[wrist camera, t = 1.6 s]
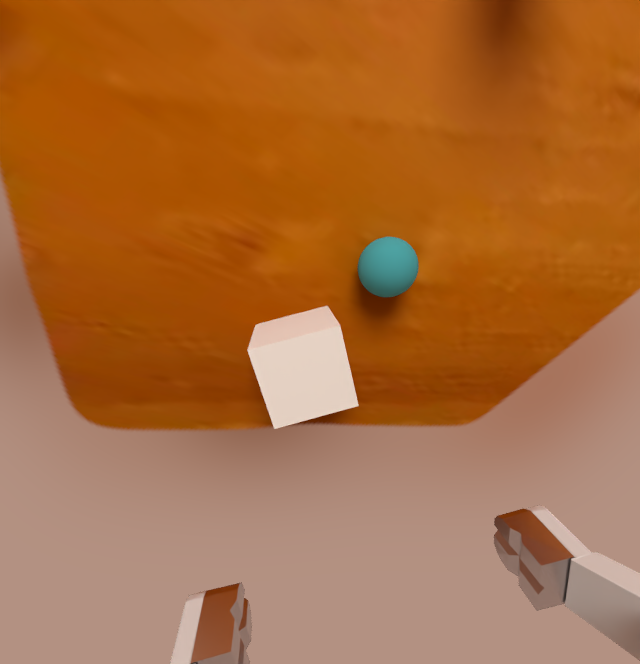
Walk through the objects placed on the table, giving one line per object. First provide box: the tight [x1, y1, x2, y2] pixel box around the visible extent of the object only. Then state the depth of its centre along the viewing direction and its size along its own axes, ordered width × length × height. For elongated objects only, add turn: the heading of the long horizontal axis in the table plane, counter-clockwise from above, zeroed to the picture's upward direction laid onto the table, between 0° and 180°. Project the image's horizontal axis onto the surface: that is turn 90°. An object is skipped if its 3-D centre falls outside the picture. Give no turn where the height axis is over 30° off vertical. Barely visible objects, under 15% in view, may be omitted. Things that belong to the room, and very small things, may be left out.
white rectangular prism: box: [247, 306, 359, 429], centre depth 27 cm, size 7×7×7 cm
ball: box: [358, 237, 418, 297], centre depth 26 cm, size 5×5×5 cm
